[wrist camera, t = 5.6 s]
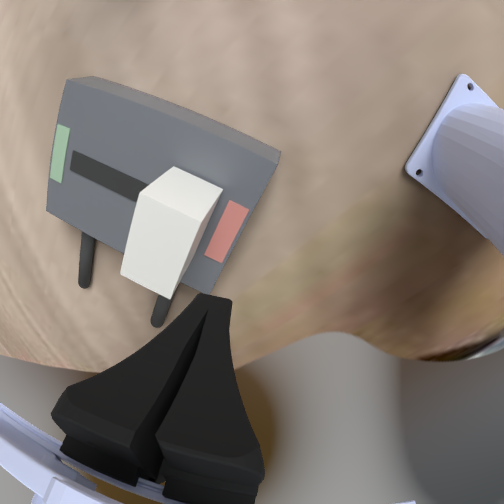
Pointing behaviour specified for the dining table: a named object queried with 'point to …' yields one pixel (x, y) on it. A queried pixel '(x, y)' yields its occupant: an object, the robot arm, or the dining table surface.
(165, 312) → the dressed cords
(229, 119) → the dining table surface
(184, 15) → the dining table surface
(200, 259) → the breaker block
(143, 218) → the breaker handle
